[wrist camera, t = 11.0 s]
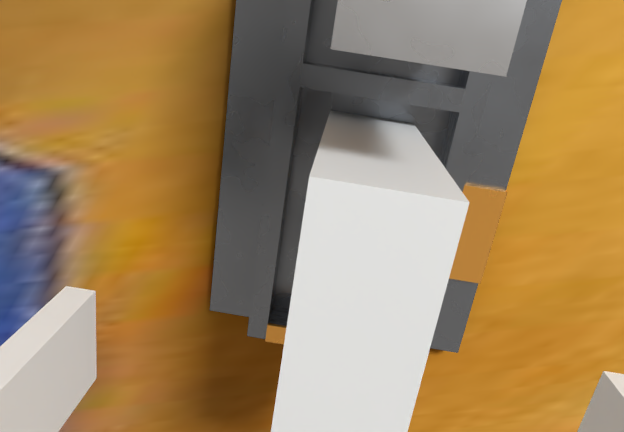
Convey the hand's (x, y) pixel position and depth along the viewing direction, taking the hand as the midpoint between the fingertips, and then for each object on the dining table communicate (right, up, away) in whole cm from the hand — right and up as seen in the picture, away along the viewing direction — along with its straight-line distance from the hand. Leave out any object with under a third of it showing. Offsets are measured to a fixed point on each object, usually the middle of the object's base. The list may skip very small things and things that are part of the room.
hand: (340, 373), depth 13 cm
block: (+1, +4, +12) cm, 13 cm away
